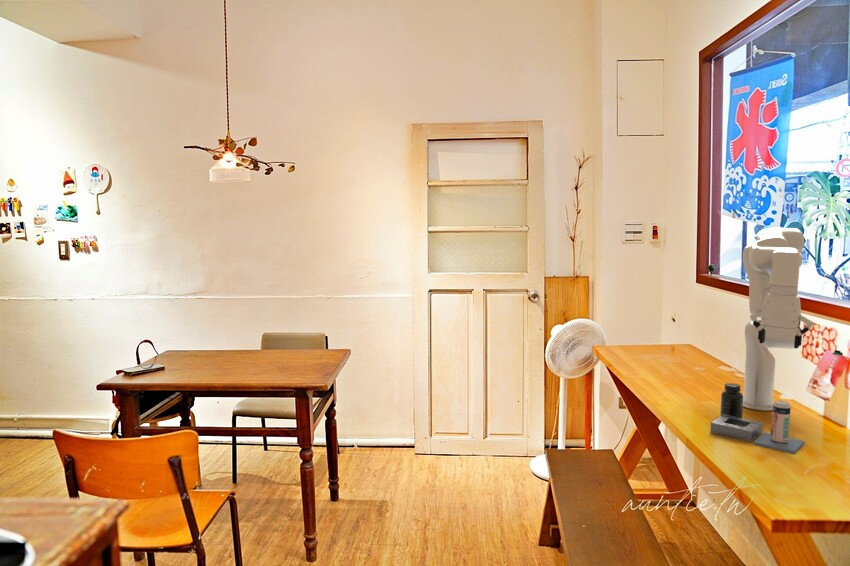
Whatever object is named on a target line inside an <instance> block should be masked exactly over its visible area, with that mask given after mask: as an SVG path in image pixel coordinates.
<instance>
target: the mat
mask: <svg viewBox="0 0 850 566" xmlns="http://www.w3.org/2000/svg"><path fill="white" fill-rule="evenodd" d="M770 437H771V432H764V433H762V434H761V435H760V436H759V437H757V438H756V439H755V440H754V441H753V445H754V444H755V446H760V447H764V448H767V449H771V450H776V449H777V450H776V451H779V452H780V451H781V452H785V453H790V454H794V455H795V454H796V453H798V451H799V450H800V449H801V448H802V447H803V446H804V445H805V443H806V441H805V440H803V439H798V438H793V437H789V438H788V442H786V443H777V442H774V441H773V440H772V439H771V438H770Z"/></svg>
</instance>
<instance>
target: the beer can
mask: <svg viewBox="0 0 850 566" xmlns="http://www.w3.org/2000/svg"><path fill="white" fill-rule="evenodd" d="M773 402H774V404H773V408H772V410H771V411H772V412H771V427H770V433H771V437H770V438H771V439H772V440H773V441H774V442H777V443H786V442H788V438H790V437H789V435H790V424H791V423H790V422H791V421H790V420H791V407H792V406H791V404H790V403H789V402H787V401H785V400H784V401H783V400H775V401H773Z"/></svg>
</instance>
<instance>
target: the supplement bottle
mask: <svg viewBox="0 0 850 566" xmlns="http://www.w3.org/2000/svg"><path fill="white" fill-rule="evenodd" d="M723 388H724V391H722V392H721V395H720V413H719V414H720V416H722V415H723V414H725V415H730V416H735V417H740V418H743V411H744V407H743V395H744V394H743V393H741V384H739V383H733V382H729V383H728V382H727V383H725V384H724V387H723ZM720 416H719V417H720Z"/></svg>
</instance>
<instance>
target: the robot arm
mask: <svg viewBox="0 0 850 566" xmlns="http://www.w3.org/2000/svg"><path fill="white" fill-rule="evenodd" d="M804 245H805V237H804V234H803V232H802V231H801V230H800V229H798V228H796V227H795V228H793V227H792V228H791V227H789V228H788V227H787V228H786V227H768V228H764V229H762V230H760V231H759V232H758V233H757V235H756V238H755V241H754V242H753V243H752V244H749V245H746V246H745V247H744V248H743V252H742V263H743V269H744V270H745V273H746V276H747V279H748V284H749V285H748V287H749V288H748V289H749V290H748V291H749V293H748V300H749V301H748V305H749V306H748V307H749V312H750V314H751V315H750V316H749V317H750V320H751V321H749V322H747V323H746V325H745V327H744V338H745V363H744V364H745V366H744V367H745V368H744V380H743V381H744V382H743V383H744V384H743V394H742V395H743V408H747V409H751V410H755V411H767V412H769V411H770V412H771V411H772V408H773V404H774V402H775V401H774V388H775V387H774V386H775V372H776V371H775V370H776V358H775V356H774V355H773V354H772V353H771V351H770V350H769V348H770V349H771V348H774V349H775V348H777V349H788V350H789V349H791V350H793V349H799V347H801V346H802V344H803V343H802V341H803V340H802V339H803V335H804V334H806V333H807V332H809V331H810V329H811V328H812V326H814V324H815V323H814V321H812V320H811V319H809V318H807V317H805V316H803V315H802V314H801V313H802V311H801V310H802V308H801V298H800V295H798V291H799V290H798V288H799V278H800V277H799V276H800V267H801V266H802V262H803V255H802V251H803V249H804ZM757 318H760V320H759V319H757ZM801 322H803V323H804V324H805V326H804V328H801Z"/></svg>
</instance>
